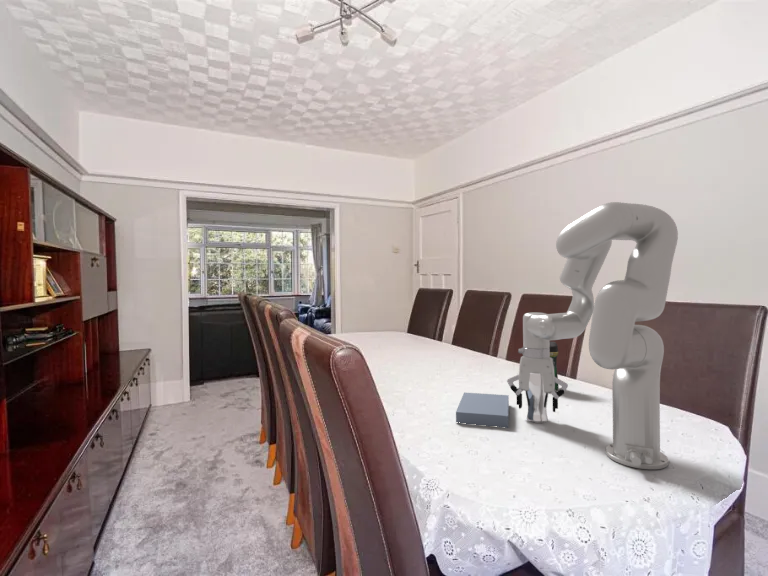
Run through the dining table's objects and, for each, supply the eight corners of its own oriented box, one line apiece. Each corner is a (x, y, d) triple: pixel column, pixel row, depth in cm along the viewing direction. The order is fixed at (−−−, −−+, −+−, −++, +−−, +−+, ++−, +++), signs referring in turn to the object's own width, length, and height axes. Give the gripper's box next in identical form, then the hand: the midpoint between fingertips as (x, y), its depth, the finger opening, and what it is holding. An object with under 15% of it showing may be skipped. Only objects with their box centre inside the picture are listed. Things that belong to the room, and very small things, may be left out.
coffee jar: (533, 390, 156) (533, 342, 156) (531, 385, 164) (530, 339, 163) (560, 391, 154) (560, 343, 154) (556, 386, 162) (555, 340, 161)
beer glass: (553, 419, 124) (552, 370, 123) (544, 425, 119) (543, 374, 118) (530, 414, 128) (530, 367, 128) (521, 420, 123) (520, 371, 123)
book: (508, 429, 117) (508, 415, 117) (456, 425, 122) (455, 411, 122) (508, 406, 138) (508, 395, 138) (464, 403, 143) (464, 392, 143)
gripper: (505, 353, 123) (506, 409, 123) (567, 356, 116) (568, 416, 117) (508, 349, 130) (509, 402, 130) (567, 352, 123) (567, 408, 123)
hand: (537, 409), depth 123 cm, fingers open, 9 cm apart
